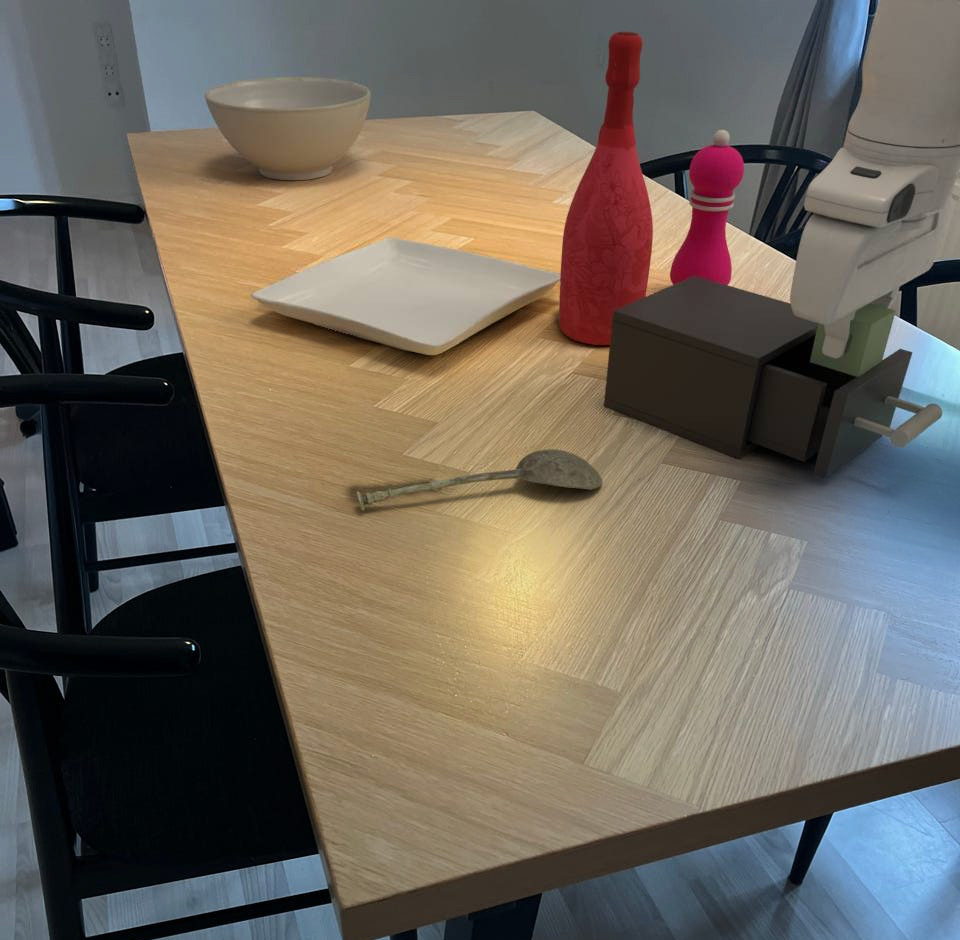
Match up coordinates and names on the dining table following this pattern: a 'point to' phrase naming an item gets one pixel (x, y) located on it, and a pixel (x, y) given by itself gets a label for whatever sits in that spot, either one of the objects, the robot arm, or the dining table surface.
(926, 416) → the open drawer with handle
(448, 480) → the soupspoon
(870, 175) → the robot arm
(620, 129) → the wine bottle
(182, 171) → the dining table surface
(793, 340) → the drawer cabinet
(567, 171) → the dining table surface
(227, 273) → the dining table surface
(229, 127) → the decorative bowl
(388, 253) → the square plate
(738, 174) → the pepper mill
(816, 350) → the block
